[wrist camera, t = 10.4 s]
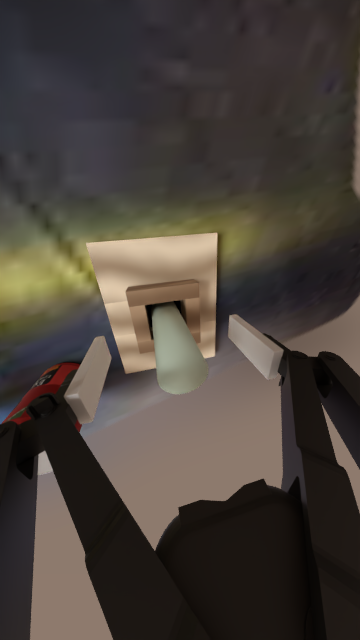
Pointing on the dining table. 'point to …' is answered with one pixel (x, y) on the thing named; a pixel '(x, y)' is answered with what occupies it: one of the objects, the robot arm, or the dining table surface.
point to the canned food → (44, 385)
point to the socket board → (155, 270)
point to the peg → (176, 351)
